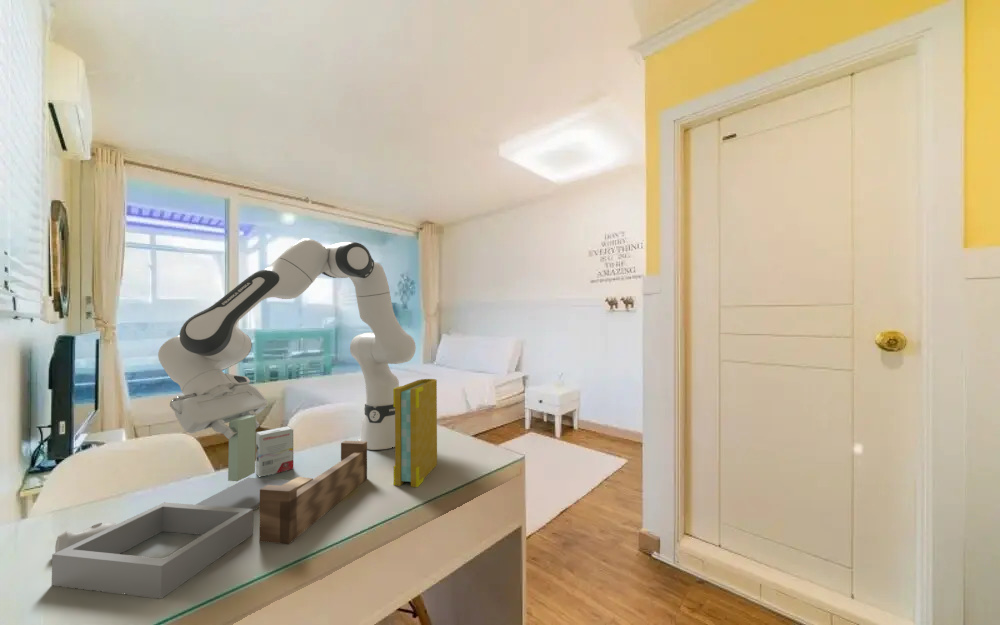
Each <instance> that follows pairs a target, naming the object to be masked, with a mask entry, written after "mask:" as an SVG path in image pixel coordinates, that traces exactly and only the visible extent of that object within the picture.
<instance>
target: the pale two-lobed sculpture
mask: <svg viewBox="0 0 1000 625" xmlns="http://www.w3.org/2000/svg"><path fill="white" fill-rule="evenodd" d="M117 524H118V523H114V522H106V523H102V522H99V523H96V524H93V525H92V526H90V527H88V528H86V529H84V530H82V531H80V532H70V531H68V530H65V531H64V532H63V533H61V534H59V535H58V536H57V538H56V541H55V547H54V548H55V549H54V551H55V553H56V552H58V551H61V550H63V549H65V548H67V547H69V546H71V545H74V544H76V543H78V542H80V541H82V540H84V539H87V538H89V537H91V536H93V535H95V534H97V533H99V532H102V531H104V530H106V529H108V528H110V527H112V526H115V525H117Z"/></svg>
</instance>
